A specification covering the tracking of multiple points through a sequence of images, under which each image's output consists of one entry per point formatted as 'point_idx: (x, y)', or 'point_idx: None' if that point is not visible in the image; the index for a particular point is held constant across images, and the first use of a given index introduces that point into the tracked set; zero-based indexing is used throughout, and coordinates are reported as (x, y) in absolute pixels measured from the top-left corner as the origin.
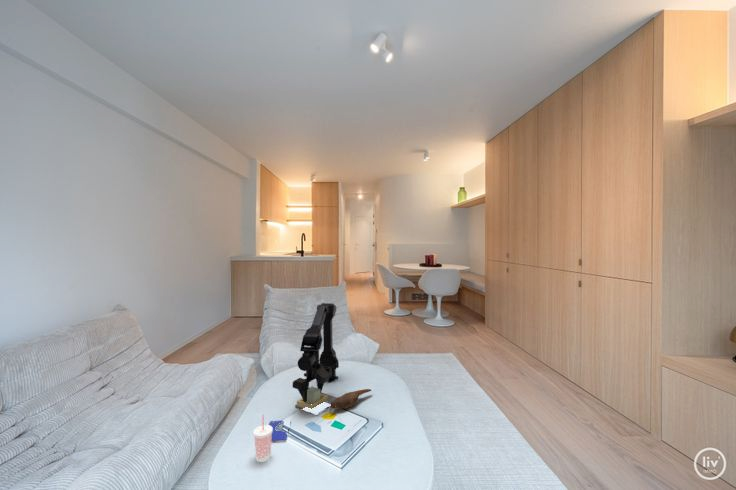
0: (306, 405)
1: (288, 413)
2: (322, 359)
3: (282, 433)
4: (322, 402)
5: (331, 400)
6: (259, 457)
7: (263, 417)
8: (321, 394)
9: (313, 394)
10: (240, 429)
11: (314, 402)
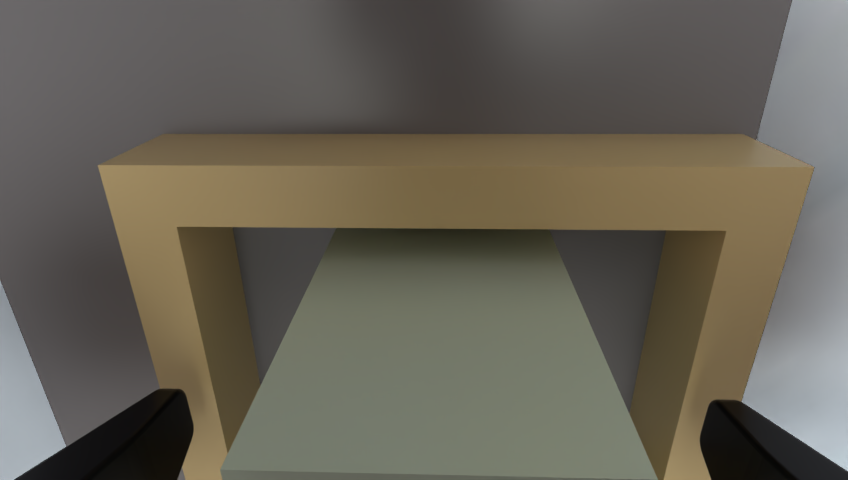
0: (749, 323)
1: (841, 444)
2: None
3: None
4: (357, 144)
5: (101, 64)
6: None
7: None
8: (175, 351)
9: (620, 432)
10: None
11: (550, 259)
